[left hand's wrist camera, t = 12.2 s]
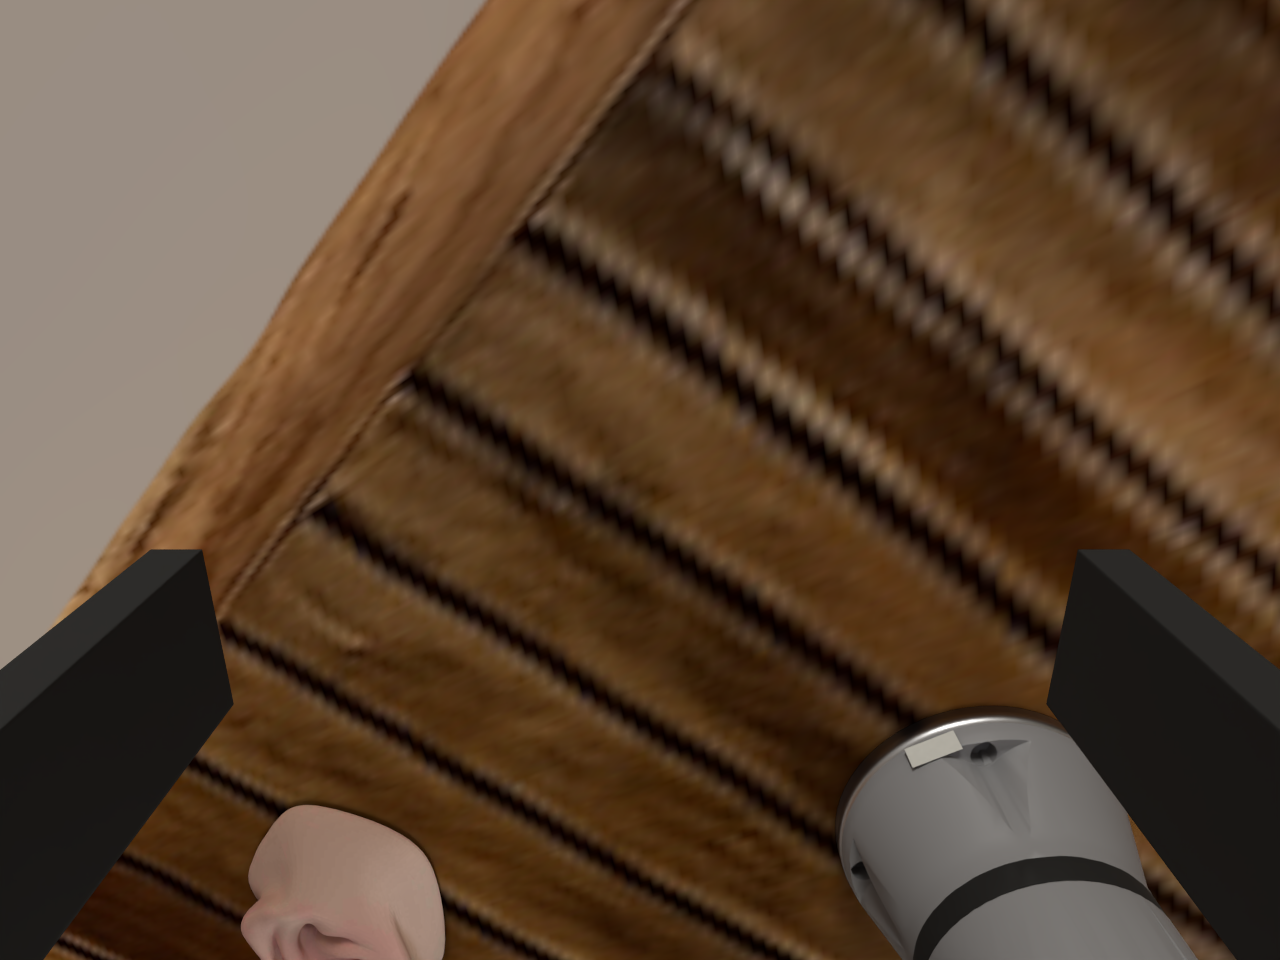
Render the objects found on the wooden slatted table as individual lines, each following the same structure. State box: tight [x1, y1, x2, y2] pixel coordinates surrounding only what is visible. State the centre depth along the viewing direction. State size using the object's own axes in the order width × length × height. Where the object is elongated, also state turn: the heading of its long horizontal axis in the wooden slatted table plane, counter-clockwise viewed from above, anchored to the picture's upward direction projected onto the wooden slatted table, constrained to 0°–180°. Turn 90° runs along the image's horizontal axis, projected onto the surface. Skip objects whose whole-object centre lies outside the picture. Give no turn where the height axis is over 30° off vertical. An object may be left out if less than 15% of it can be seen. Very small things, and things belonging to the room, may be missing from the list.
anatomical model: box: [241, 805, 445, 960], centre depth 48 cm, size 13×4×12 cm
